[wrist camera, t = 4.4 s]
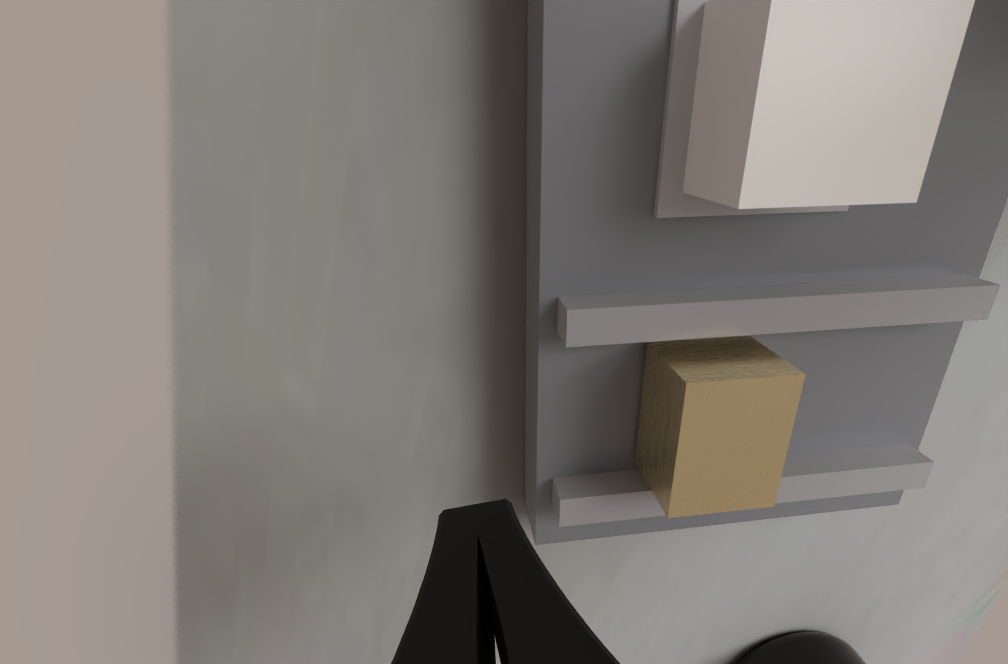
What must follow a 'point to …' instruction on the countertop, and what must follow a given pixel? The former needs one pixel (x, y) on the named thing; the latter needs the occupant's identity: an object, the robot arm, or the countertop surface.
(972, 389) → the countertop surface
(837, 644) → the supplement bottle
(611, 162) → the grey ridged tray
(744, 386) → the wood grain block
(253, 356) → the countertop surface
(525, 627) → the robot arm
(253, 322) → the countertop surface
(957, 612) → the countertop surface
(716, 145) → the off-white button
